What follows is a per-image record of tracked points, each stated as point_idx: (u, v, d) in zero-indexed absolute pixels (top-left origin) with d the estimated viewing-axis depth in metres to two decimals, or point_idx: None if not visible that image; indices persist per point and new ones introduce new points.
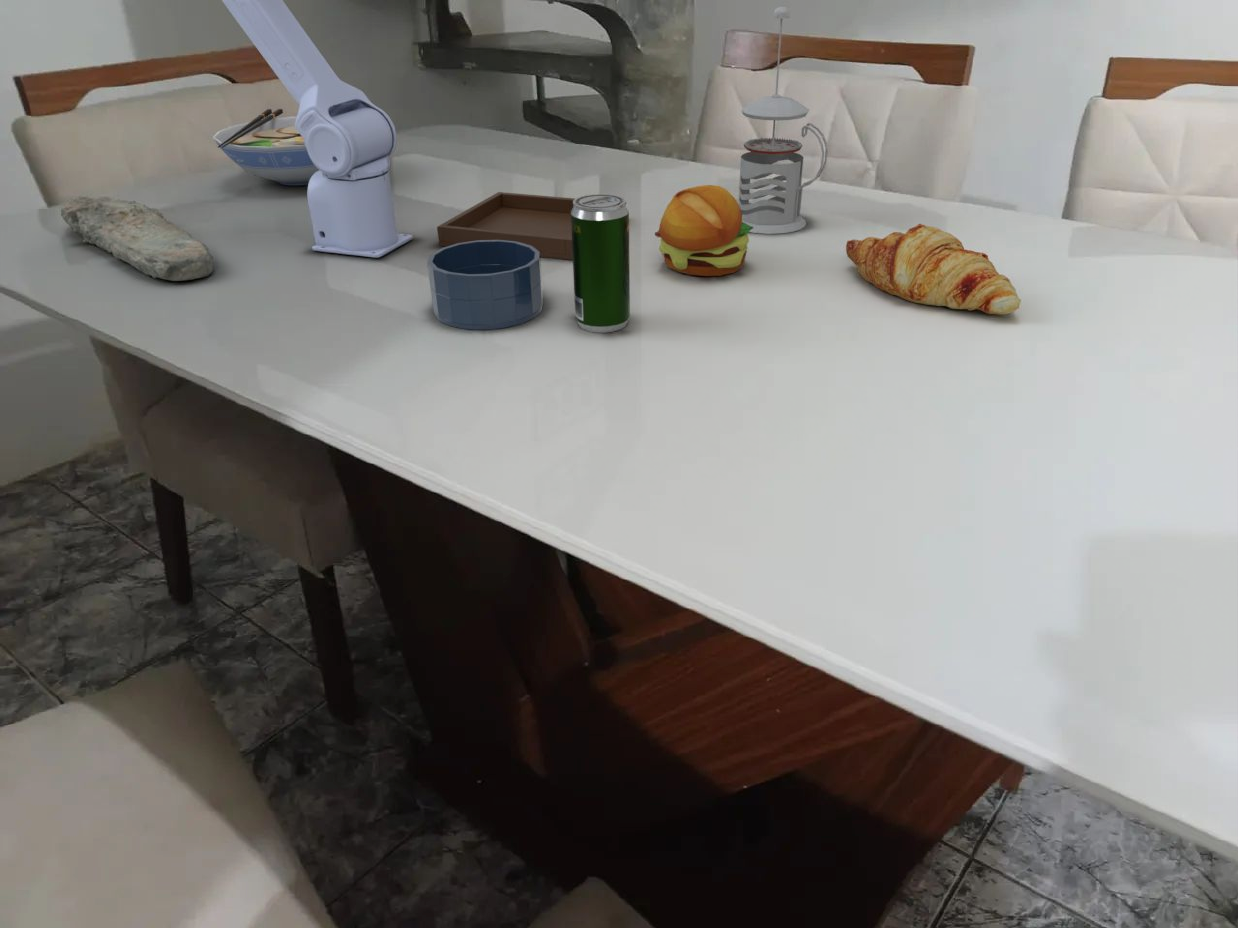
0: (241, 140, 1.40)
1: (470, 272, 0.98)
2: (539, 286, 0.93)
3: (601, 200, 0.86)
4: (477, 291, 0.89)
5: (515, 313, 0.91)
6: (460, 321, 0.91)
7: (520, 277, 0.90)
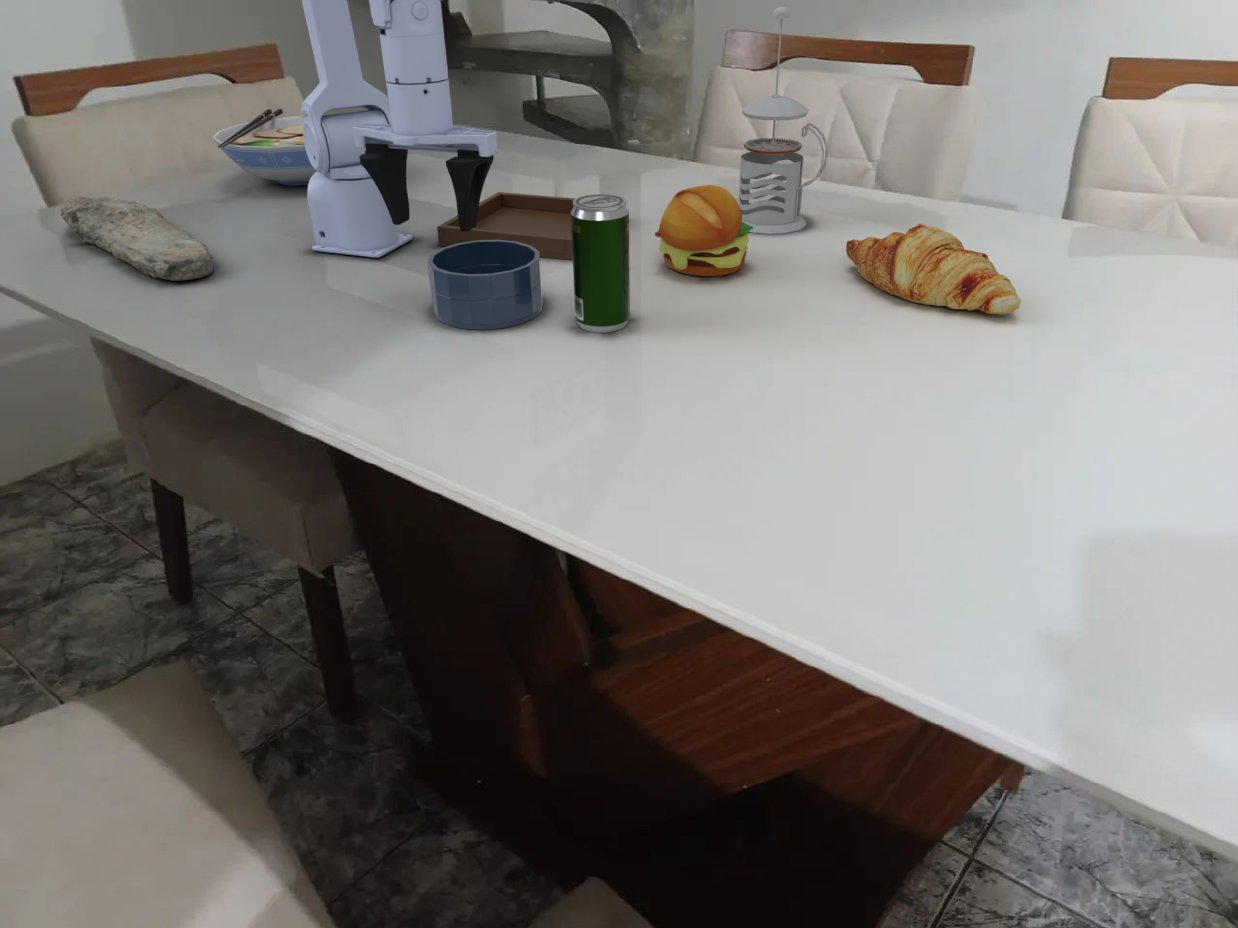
0: (241, 140, 1.40)
1: (470, 272, 0.98)
2: (539, 286, 0.93)
3: (601, 200, 0.86)
4: (477, 291, 0.89)
5: (515, 313, 0.91)
6: (460, 321, 0.91)
7: (520, 277, 0.90)
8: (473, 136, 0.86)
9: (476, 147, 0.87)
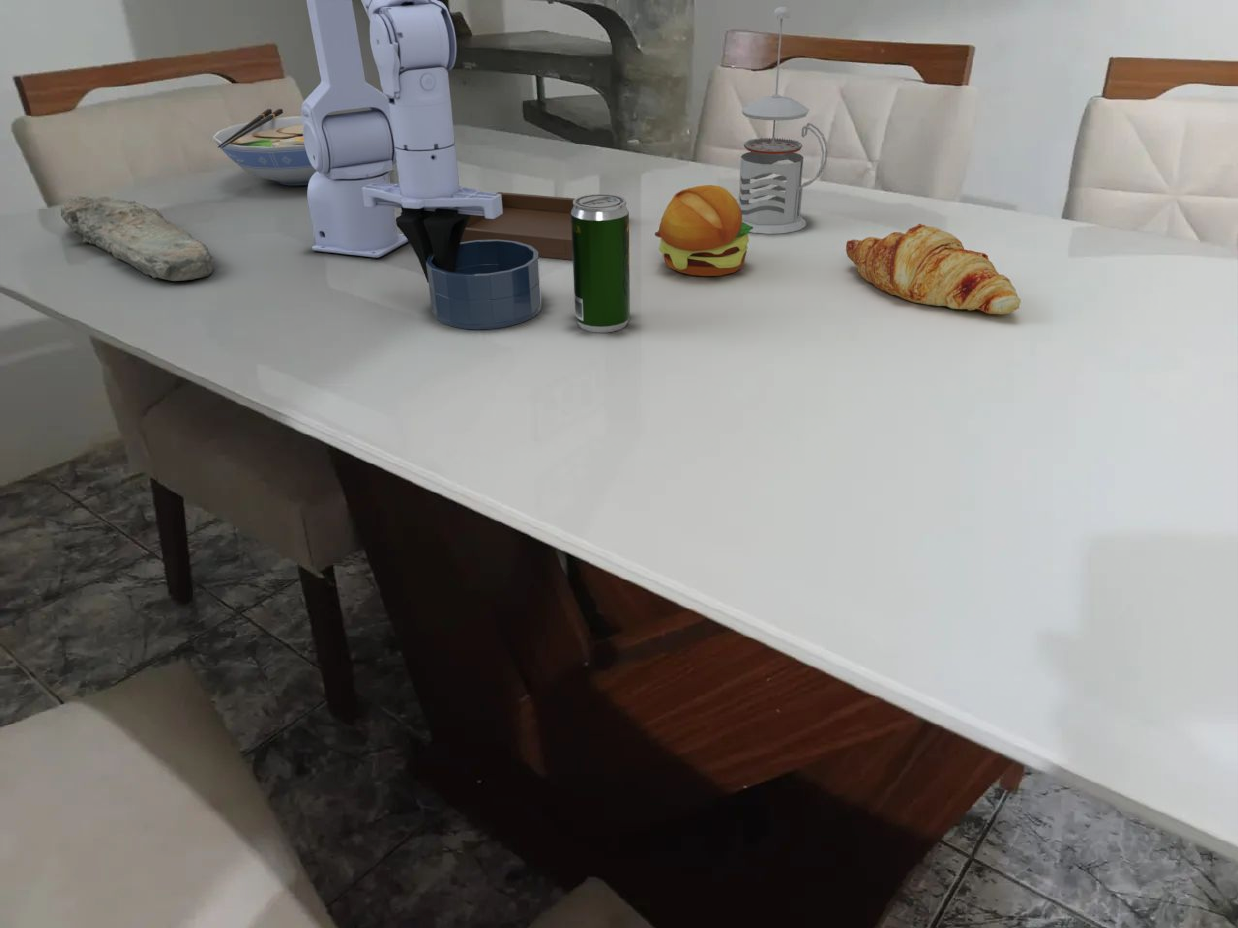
0: (241, 140, 1.40)
1: (469, 272, 0.98)
2: (538, 286, 0.93)
3: (601, 200, 0.86)
4: (475, 291, 0.89)
5: (514, 313, 0.91)
6: (459, 321, 0.91)
7: (519, 277, 0.90)
8: (479, 199, 0.89)
9: (482, 209, 0.90)
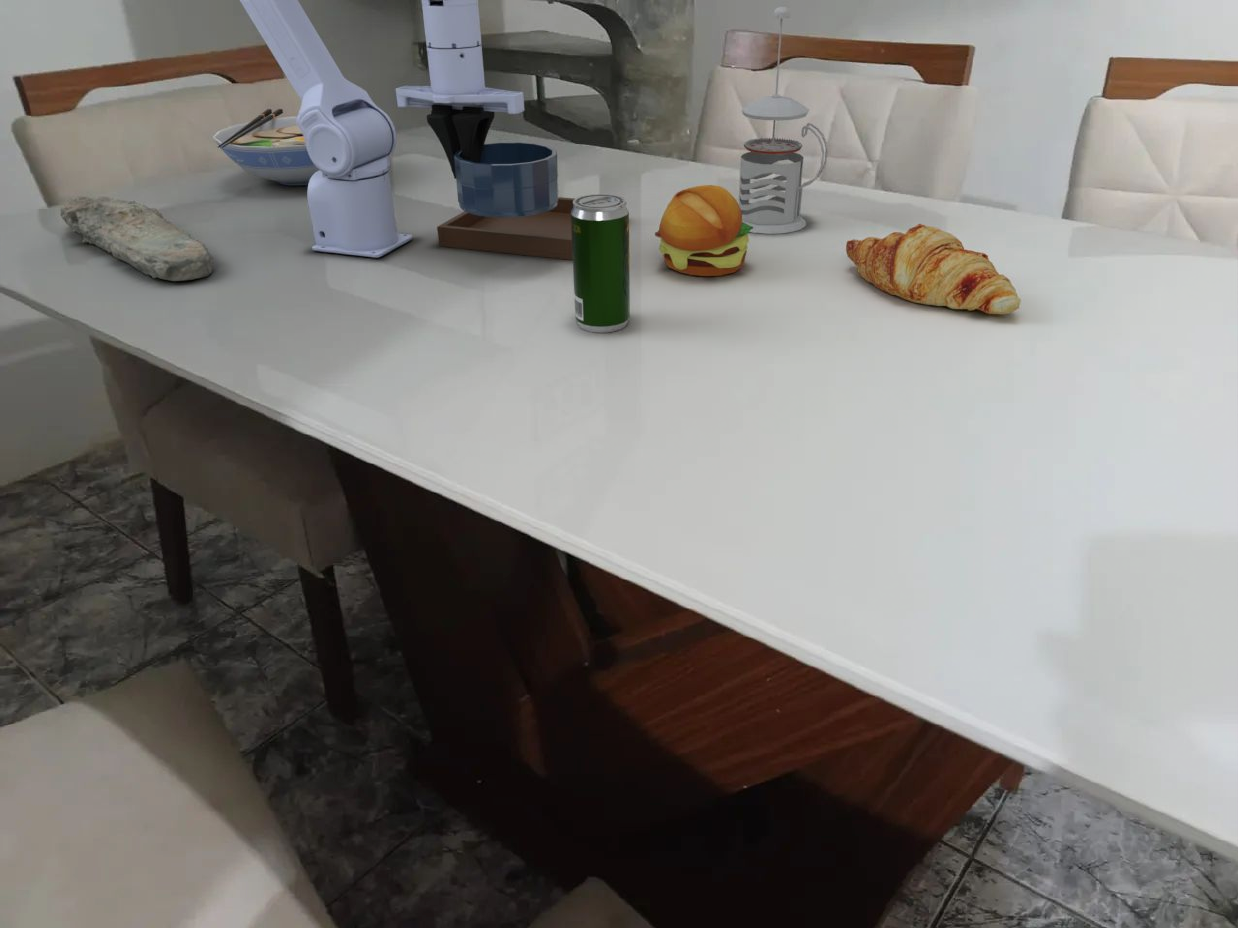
0: (241, 140, 1.40)
1: None
2: (556, 181, 1.02)
3: (601, 200, 0.86)
4: (499, 180, 0.97)
5: (533, 203, 1.00)
6: (483, 209, 1.00)
7: (539, 169, 0.98)
8: (503, 95, 0.97)
9: (505, 106, 0.99)
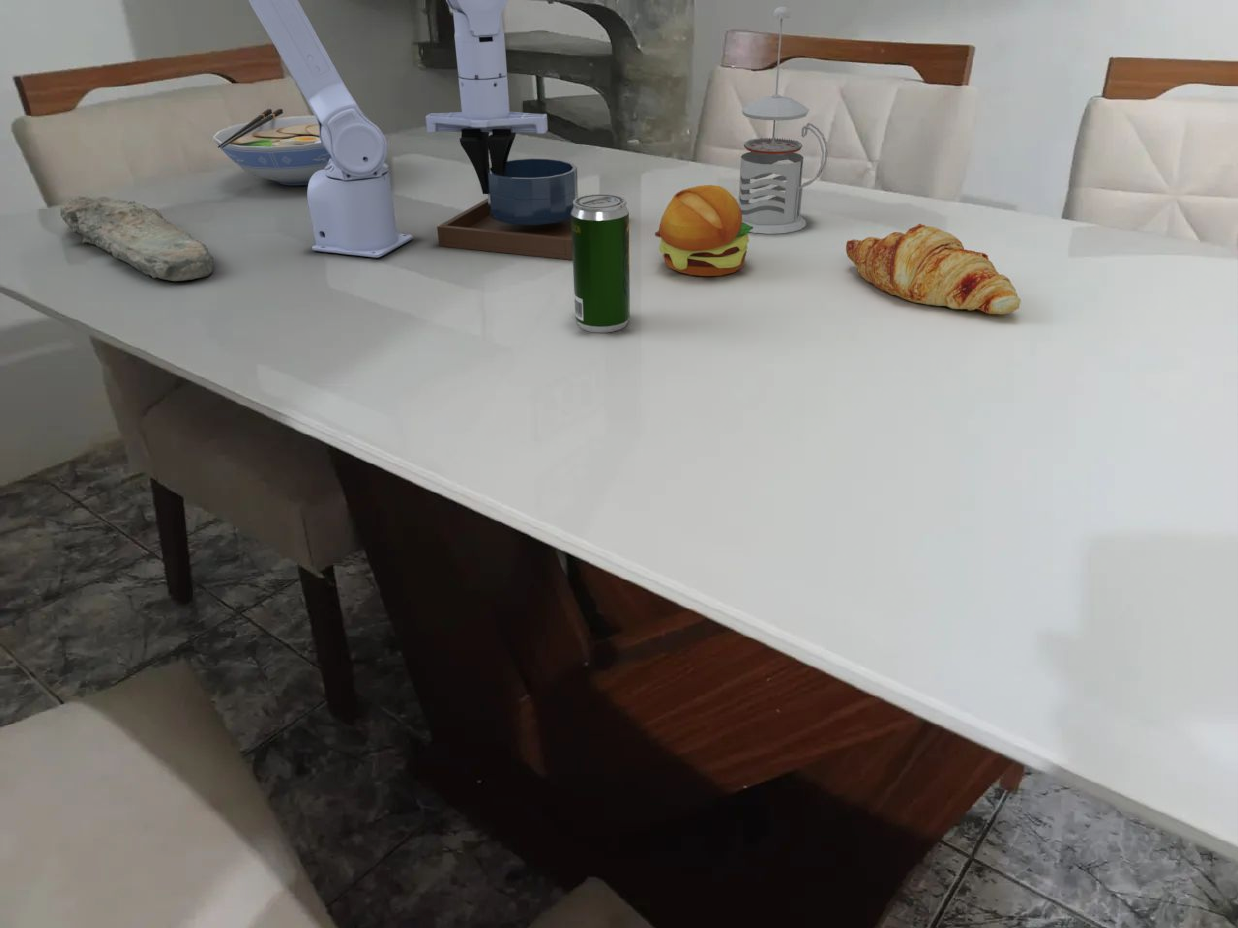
0: (241, 140, 1.40)
1: None
2: (577, 190, 1.16)
3: (601, 200, 0.86)
4: (537, 191, 1.11)
5: (565, 210, 1.14)
6: (522, 218, 1.12)
7: (568, 180, 1.13)
8: (532, 118, 1.11)
9: (532, 127, 1.12)
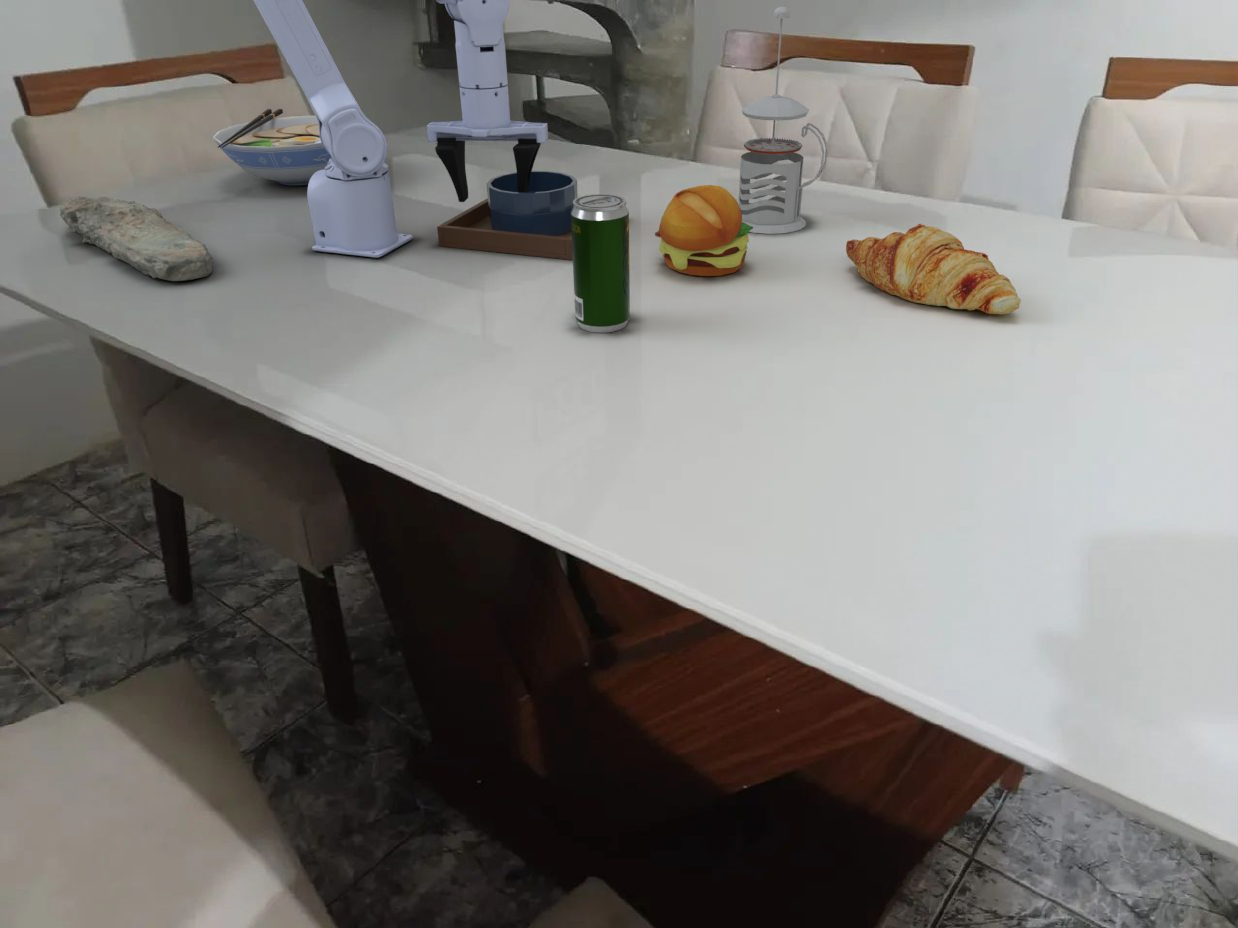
0: (241, 140, 1.40)
1: None
2: None
3: (601, 200, 0.86)
4: (538, 206, 1.12)
5: (565, 224, 1.14)
6: (523, 232, 1.13)
7: (568, 194, 1.13)
8: (533, 127, 1.11)
9: (533, 136, 1.12)
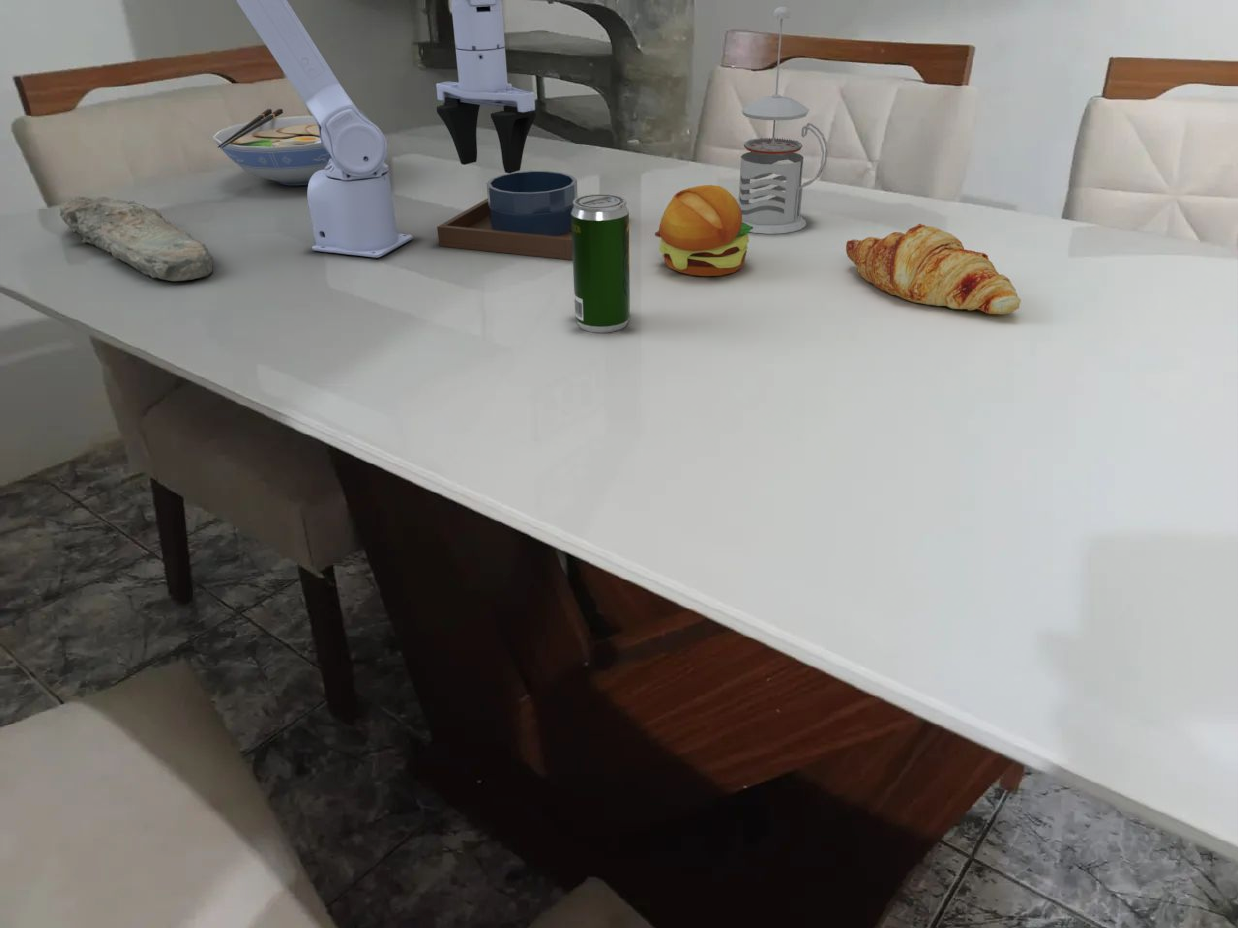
0: (241, 140, 1.40)
1: None
2: None
3: (601, 200, 0.86)
4: (538, 206, 1.12)
5: (565, 224, 1.14)
6: (523, 232, 1.13)
7: (568, 194, 1.13)
8: None
9: None
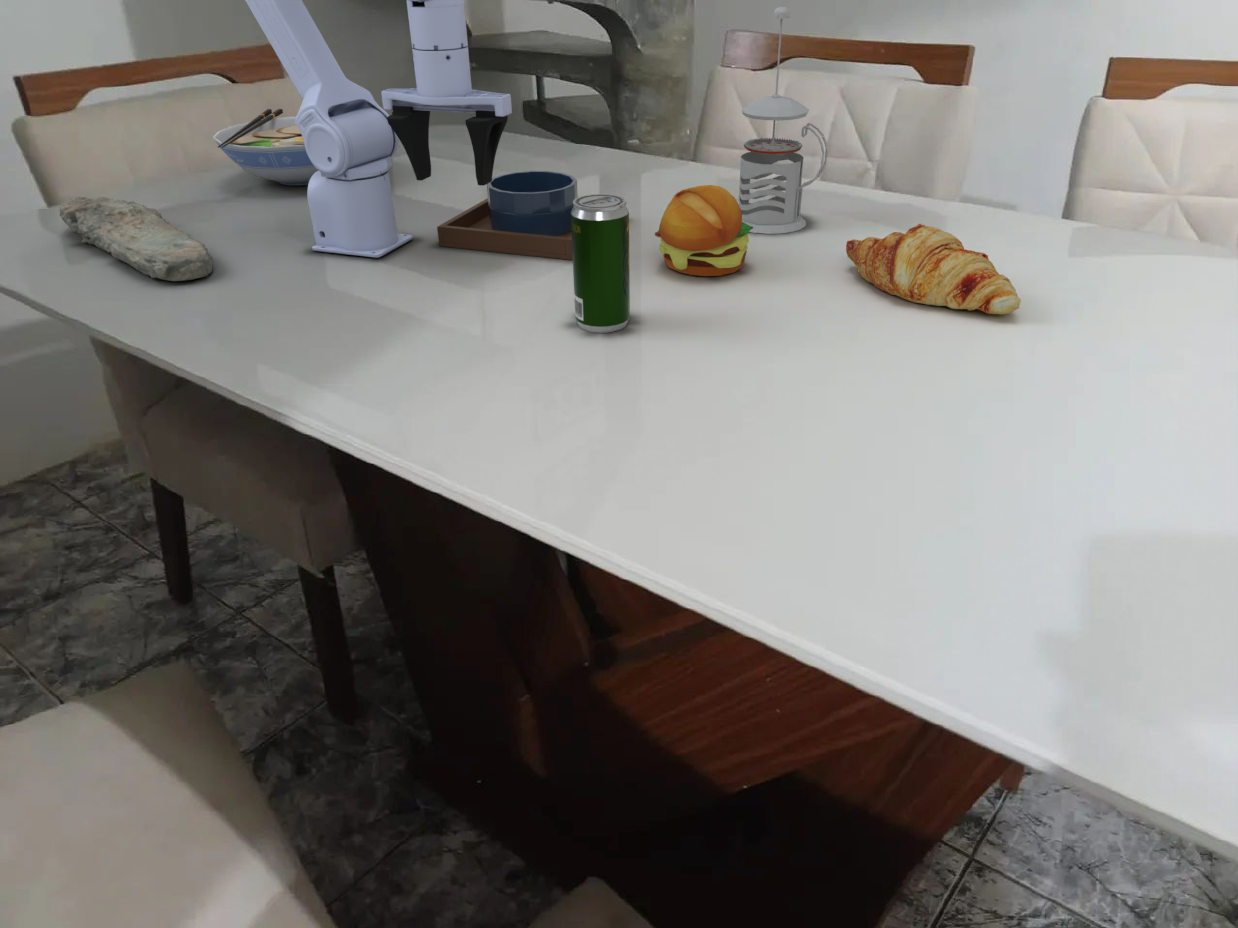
0: (241, 140, 1.40)
1: None
2: None
3: (601, 200, 0.86)
4: (538, 206, 1.12)
5: (565, 224, 1.14)
6: (523, 232, 1.13)
7: (568, 194, 1.13)
8: (401, 89, 1.01)
9: None
